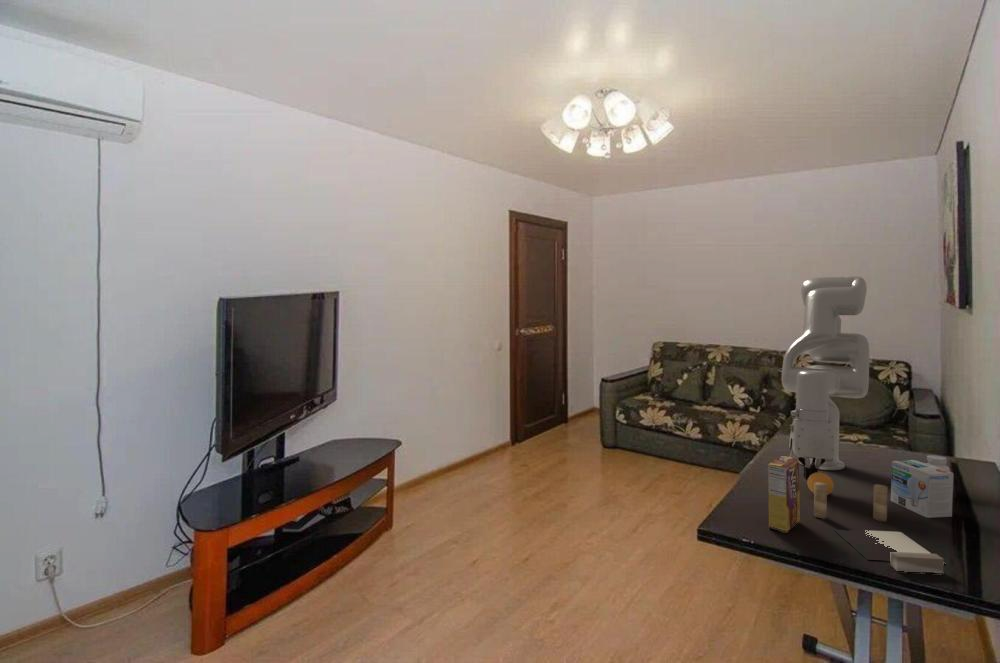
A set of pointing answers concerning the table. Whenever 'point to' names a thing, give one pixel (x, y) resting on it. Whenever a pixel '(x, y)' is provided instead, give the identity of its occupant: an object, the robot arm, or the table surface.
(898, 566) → the stopper wall
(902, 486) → the light bulb box
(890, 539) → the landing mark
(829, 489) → the ball
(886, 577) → the table surface
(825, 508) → the post
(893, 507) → the table surface
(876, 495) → the post
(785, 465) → the candy box
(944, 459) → the supplement bottle
